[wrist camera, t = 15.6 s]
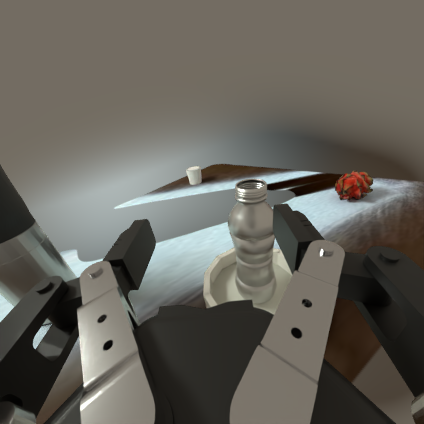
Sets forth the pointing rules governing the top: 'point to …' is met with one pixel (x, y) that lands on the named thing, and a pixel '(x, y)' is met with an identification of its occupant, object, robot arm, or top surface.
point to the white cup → (194, 175)
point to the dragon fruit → (354, 185)
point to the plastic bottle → (253, 241)
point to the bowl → (226, 288)
